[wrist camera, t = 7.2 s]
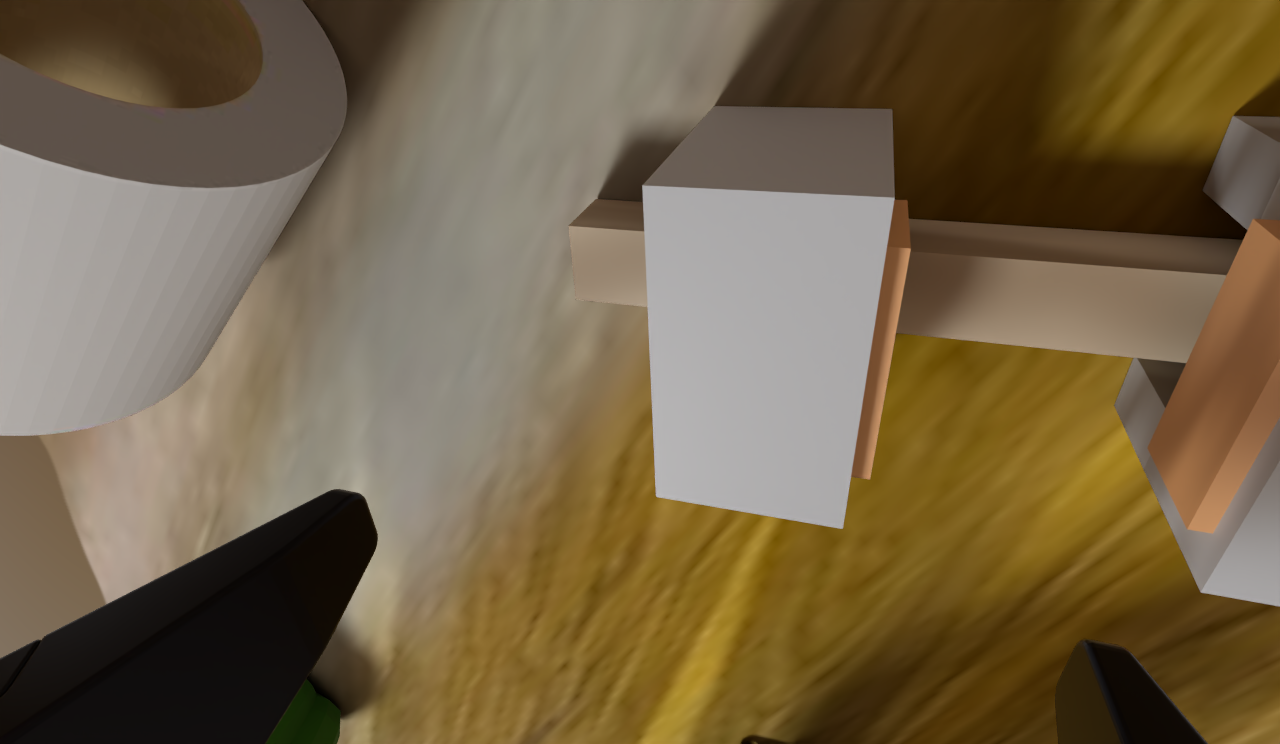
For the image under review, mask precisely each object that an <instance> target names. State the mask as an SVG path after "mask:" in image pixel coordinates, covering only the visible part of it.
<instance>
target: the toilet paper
mask: <svg viewBox="0 0 1280 744" xmlns="http://www.w3.org/2000/svg"><path fill="white" fill-rule="evenodd" d="M346 113H347V92H346V85H345V80H344V76H343V72H342V69H341V66H340V63H339V60H338V58H337V56H336V54H335V51H334V49H333V47H332V45H331V43H330V41H329V39H328V38H327V36H326V34H325V32H324V31H323V29H322V27H321V26H320V24H319V23H318V21H317V20H316V18H315V17H314V15H313V14H312V13H311V11H310V10H309V9H308V7H307V6H306V5H305V4H304V2H303V1H302V0H0V435H9V436H14V435H15V436H18V435H19V436H27V435H44V434H55V433H63V432H70V431H77V430H82V429H87V428H92V427H96V426H100V425H104V424H107V423H111V422H114V421H117V420H120V419H123V418H125V417H128V416H131V415H133V414H136V413H138V412H140V411H142V410H144V409H147V408H149V407H151V406H153V405H154V404H156V403H158V402H159V401H161V400H163V399H164V398H166V397H168V396H169V395H170V394H172V393H173V392H174V391H176V390H177V389H178V388H180V387H181V386H182V385H183V384H184V383H185V382H186V381H187V380H188V379H190V378H191V377H192V375H193V374H194V373H195V372H196V371H197V370H198V368H199V367H200V366H201V364H202V363H203V361H204V360H205V358H206V357H207V355H208V354H209V352H210V350H211V349H212V347H213V345H214V344H215V342H216V340H217V339H218V337H219V335H220V334H221V332H222V330H223V329H224V327H225V325H226V324H227V322H228V320H229V319H230V317H231V315H232V314H233V312H234V310H235V309H236V307H237V305H238V304H239V302H240V300H241V299H242V297H243V295H244V294H245V292H246V290H247V289H248V287H249V285H250V284H251V282H252V280H253V279H254V277H255V275H256V274H257V272H258V270H259V269H260V267H261V265H262V264H263V262H264V260H265V259H266V257H267V255H268V254H269V252H270V250H271V249H272V247H273V245H274V244H275V242H276V240H277V239H278V237H279V235H280V234H281V232H282V230H283V229H284V227H285V225H286V224H287V222H288V220H289V219H290V217H291V215H292V214H293V212H294V210H295V209H296V207H297V205H298V204H299V202H300V200H301V199H302V197H303V195H304V194H305V192H306V190H307V189H308V187H309V185H310V184H311V182H312V180H313V179H314V177H315V175H316V174H317V172H318V170H319V169H320V167H321V165H322V164H323V162H324V160H325V159H326V157H327V155H328V154H329V152H330V150H331V149H332V147H333V145H334V144H335V142H336V140H337V139H338V137H339V135H340V133H341V130H342V128H343V126H344V122H345V117H346Z"/></svg>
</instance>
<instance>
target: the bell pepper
mask: <svg viewBox="0 0 1280 744" xmlns="http://www.w3.org/2000/svg"><path fill="white" fill-rule="evenodd" d="M340 715H341V711H340V710H339V709H338V708H337V707H336V706H335V705H334V704H333V703H332V702H331V701H329V700H328V699H326V698H325V697H323V696H322V695H320V694H318V693H316V692H315V690H314V688H313V686H312V684H311V683H310V682H309V681H308V680H307V679H306V680H305V682H304V684H303V685H302V687H301V688H300V690H299V691H298V693H297V695H296V696H295V698H294V699H293V701H292V703H291V704H290V706H289V707H288V709H287V711H286V712H285V714H284V715H283V717H282V718H281V720H280V722H279V723H278V725H277V726H276V728H275V730H274V731H273V733H272V734H271V736H270V737H269V739H268V741H267V742H266V744H337V742H338V739H339V735H340Z"/></svg>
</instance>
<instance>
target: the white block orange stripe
mask: <svg viewBox="0 0 1280 744" xmlns="http://www.w3.org/2000/svg"><path fill="white" fill-rule="evenodd" d="M642 190H643V212H644V235H645V257H646V280H647V302H648V325H649V348H650V370H651V393H652V415H653V438H654V461H655V483H656V497H660V498H666V499H672V500H678V501H684V502H689V503H695V504H701V505H707V506H713V507H719V508H724V509H730V510H736V511H742V512H748V513H753V514H759V515H765V516H771V517H777V518H783V519H788V520H794V521H800V522H806V523H812V524H817V525H823V526H829V527H835V528H841V529H843V524H844V518H845V511H846V505H847V499H848V492H849V486H850V479H851V477H857V478H864V479H870V476H871V471H872V465H873V459H874V454H875V448H876V443H877V437H878V431H879V426H880V420H881V414H882V409H883V403H884V397H885V392H886V386H887V380H888V375H889V369H890V364H891V358H892V352H893V347H894V341H895V335H896V330H897V324H898V318H899V313H900V307H901V301H902V296H903V290H904V284H905V279H906V273H907V268H908V262H909V256H910V251H911V243H910V229H909V215H908V201H907V200H894V199H895V189H894V151H893V114H892V109H862V108H802V107H741V106H714V107H713V108H712V109H711V110H710V111H709V112H708V113H707V115H706V116H705V117H704V118H703V119H702V120H701V121H700V122H699V123H698V124H697V126H696V127H695V128H694V129H693V130H692V131H691V132H690V133H689V134H688V136H687V137H686V138H685V139H684V140H683V141H682V142H681V143H680V144H679V145H678V147H677V148H676V149H675V150H674V151H673V152H672V153H671V154H670V155H669V156H668V158H667V159H666V160H665V161H664V162H663V163H662V164H661V165H660V166H659V168H658V169H657V170H656V171H655V172H654V173H653V174H652V175H651V176H650V177H649V179H648V180H647V181H646V182H645V183H644V184H643V185H642Z"/></svg>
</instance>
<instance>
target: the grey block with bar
mask: <svg viewBox="0 0 1280 744" xmlns="http://www.w3.org/2000/svg"><path fill="white" fill-rule="evenodd" d="M1202 191H1203V192H1204V193H1205V194H1207V195H1208V196H1209V197H1210V198H1211V199H1212V200H1213V201H1215V202H1216V203H1217V204H1218V205H1219V206H1220V207H1221V208H1223V209H1224V210H1225V211H1226V212H1227V213H1228V214H1229V215H1231V216H1232V217H1233V218H1234V219H1235V220H1236V221H1237V222H1239V223H1240V224H1241V225H1242V226H1243V227H1244V228H1245V229H1247V230H1248V231H1247V233H1246V235H1245V237H1244V239H1243V240H1236V239H1221V238H1205V237H1189V236H1173V235H1157V234H1142V233H1126V232H1110V231H1094V230H1079V229H1063V228H1047V227H1031V226H1015V225H1000V224H984V223H968V222H952V221H937V220H921V219H909V229H910V243H911V251H910V256H909V262H908V268H907V273H906V279H905V284H904V290H903V296H902V301H901V307H900V313H899V318H898V324H897V330H896V333H903V334H912V335H922V336H931V337H941V338H950V339H960V340H970V341H979V342H989V343H998V344H1008V345H1017V346H1027V347H1037V348H1046V349H1056V350H1065V351H1075V352H1084V353H1094V354H1104V355H1113V356H1123V357H1132V358H1134V359H1133V361H1132V363H1131V366H1130V368H1129V371H1128V373H1127V376H1126V378H1125V380H1124V383H1123V385H1122V388H1121V390H1120V393H1119V395H1118V398H1117V400H1116V402H1115V405H1114V406H1115V408H1116V410H1117V413H1118V415H1119V417H1120V419H1121V421H1122V423H1123V426H1124V428H1125V430H1126V432H1127V434H1128V436H1129V439H1130V441H1131V443H1132V445H1133V447H1134V449H1135V452H1136V454H1137V456H1138V458H1139V460H1140V462H1141V465H1142V467H1143V469H1144V471H1145V473H1146V475H1147V478H1148V480H1149V482H1150V484H1151V486H1152V488H1153V491H1154V493H1155V495H1156V497H1157V499H1158V501H1159V503H1160V506H1161V508H1162V510H1163V512H1164V514H1165V516H1166V519H1167V521H1168V523H1169V525H1170V527H1171V529H1172V532H1173V534H1174V536H1175V538H1176V540H1177V542H1178V545H1179V547H1180V549H1181V551H1182V553H1183V555H1184V558H1185V560H1186V562H1187V564H1188V566H1189V568H1190V571H1191V573H1192V575H1193V577H1194V579H1195V581H1196V584H1197V586H1198V588H1199V590H1200V592H1201V593H1207V594H1212V595H1218V596H1224V597H1229V598H1235V599H1241V600H1246V601H1252V602H1257V603H1263V604H1269V605H1274V606H1280V117H1260V116H1233V117H1232V120H1231V122H1230V125H1229V127H1228V129H1227V132H1226V134H1225V137H1224V139H1223V142H1222V144H1221V146H1220V149H1219V151H1218V154H1217V156H1216V159H1215V161H1214V164H1213V166H1212V168H1211V171H1210V173H1209V176H1208V178H1207V181H1206V183H1205V185H1204V188H1203V190H1202ZM569 235H570V245H571V256H572V266H573V276H574V286H575V296H576V299H577V300H587V301H596V302H606V303H615V304H625V305H634V306H644V307H648V302H647V280H646V257H645V235H644V212H643V202H637V201H621V200H605V199H596V200H595V201H594V202H593V203H592V204H590V205H589V206H588V207H587V208H586V209H585V210H584V211H583V212H582V213H581V214H580V215H579V216H578V217H577V218H576V219H575V220H574V221H573V222H572V223H571V224H570V225H569Z"/></svg>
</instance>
